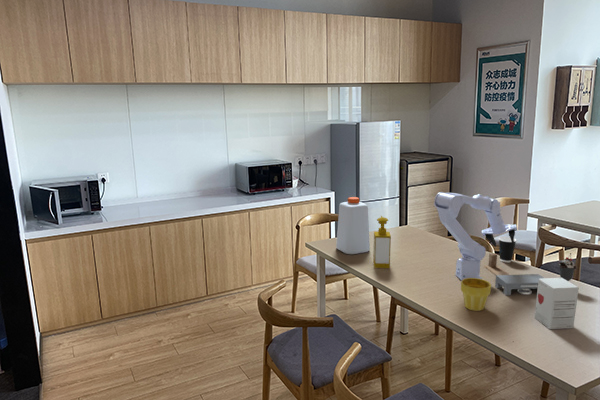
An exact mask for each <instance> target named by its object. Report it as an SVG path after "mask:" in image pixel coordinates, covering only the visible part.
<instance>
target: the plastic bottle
mask: <svg viewBox="0 0 600 400" xmlns="http://www.w3.org/2000/svg"><path fill="white" fill-rule="evenodd" d="M337 220H338V221H337V232H336V242H335V243H336V244H335V247H336V250H338V251H340V252H343V253H344V254H347V255H359V254H361V253H362V254H363V253H364V254H365V253H368V252H369V251H370V249H371V247H370V246H371V244H370V243H371V242H370V227H369V226H370V225H369V206H368V204H366V203H365V202H362V201H360V198H359V197H357V196H351V197H348V198H347V201H344V202H340V203H339V206H338V219H337Z"/></svg>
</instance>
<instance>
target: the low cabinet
mask: <svg viewBox="0 0 600 400" xmlns="http://www.w3.org/2000/svg"><path fill="white" fill-rule="evenodd" d="M541 278H545V277H544V276H542V275H540V274H539V273H533V274H532V273H530V274H526V273H525V274H523V273H522V274H510V275H496V276H495V282H494V283H495V284H494V287H495V288H496V289H503V295H505V296H511V295H512V290H518V289H530V290H532V289H538V281H539V279H541Z"/></svg>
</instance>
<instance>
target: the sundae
mask: <svg viewBox="0 0 600 400" xmlns="http://www.w3.org/2000/svg"><path fill="white" fill-rule="evenodd" d="M569 256H572V252H571V253H569ZM569 256H567V257H565V258H564V259H563V260H562V261H561V262H559V263H558V264H557V265H558V267H559V276H560V277H559V278H563V279H565V280H567V281H569V282H570V281H571V280H572V278H573V275H574V273H575V272H574V271H575V270H576V269H577V268H578V266H577V265H575V263H574V261H573V258H570V257H569Z"/></svg>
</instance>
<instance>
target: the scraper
mask: <svg viewBox="0 0 600 400" xmlns="http://www.w3.org/2000/svg"><path fill="white" fill-rule="evenodd" d="M497 261H498V254H497V253H493V252H491V253H489V256H488V265H484V267H483V268H485V269H486V270H488V271H489V272H490V273H491V274H493V275H494V276H495V277H496V275H511V274H510V273H509V272H507V271H505V270H504V269H503V268H502V267H500V266H499V265H497Z"/></svg>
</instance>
